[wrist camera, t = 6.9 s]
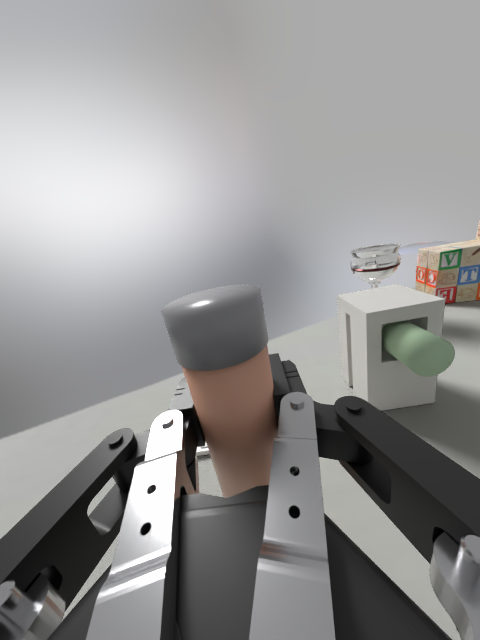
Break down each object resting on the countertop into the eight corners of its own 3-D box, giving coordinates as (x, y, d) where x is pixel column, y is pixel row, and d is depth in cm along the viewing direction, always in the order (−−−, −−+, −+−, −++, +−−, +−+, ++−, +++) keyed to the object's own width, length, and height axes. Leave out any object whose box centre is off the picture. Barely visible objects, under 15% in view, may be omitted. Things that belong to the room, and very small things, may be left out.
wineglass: (393, 311, 41) (395, 241, 37) (403, 327, 35) (407, 246, 31) (351, 314, 43) (348, 249, 39) (354, 329, 37) (351, 254, 33)
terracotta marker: (226, 553, 11) (144, 324, 7) (230, 477, 15) (176, 294, 11) (303, 545, 11) (265, 302, 7) (288, 470, 15) (257, 279, 10)
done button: (409, 379, 17) (411, 343, 16) (378, 353, 20) (378, 322, 19) (452, 373, 16) (457, 335, 15) (413, 347, 20) (415, 316, 19)
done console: (367, 412, 21) (366, 313, 18) (341, 376, 27) (336, 295, 24) (434, 402, 21) (445, 299, 18) (393, 367, 27) (396, 284, 23)
